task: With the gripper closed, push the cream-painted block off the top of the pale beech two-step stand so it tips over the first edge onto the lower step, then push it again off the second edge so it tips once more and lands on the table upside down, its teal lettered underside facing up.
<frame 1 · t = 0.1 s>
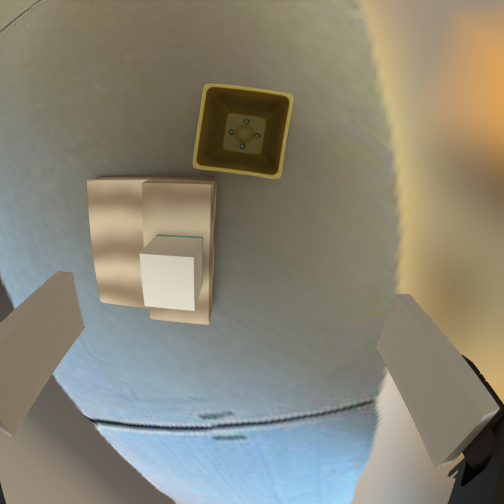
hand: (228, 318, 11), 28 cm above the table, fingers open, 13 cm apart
cream block: (179, 259, 34), point 6 cm above the table, touching beech steps
flower pot: (244, 132, 34), on the table
beech steps: (145, 239, 39), on the table
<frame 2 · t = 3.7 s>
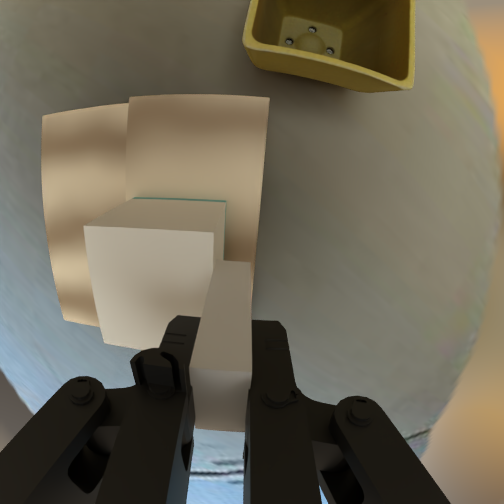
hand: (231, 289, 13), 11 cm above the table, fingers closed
cream block: (178, 247, 17), point 6 cm above the table, touching beech steps, gripper
flower pot: (308, 46, 18), on the table
beech steps: (133, 217, 22), on the table
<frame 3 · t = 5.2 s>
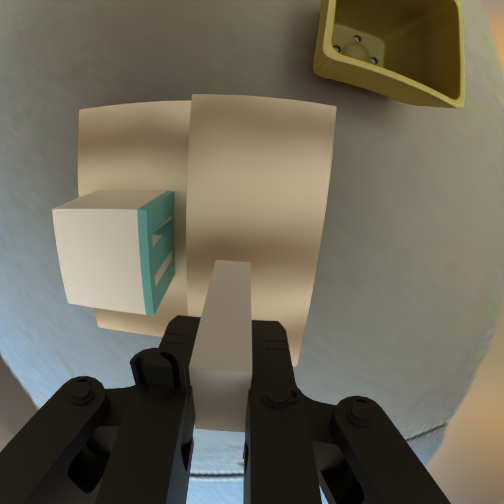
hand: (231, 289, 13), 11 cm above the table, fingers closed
cream block: (163, 248, 17), point 6 cm above the table, tilted 90°, touching beech steps
flower pot: (353, 54, 18), on the table
beech steps: (177, 220, 23), on the table
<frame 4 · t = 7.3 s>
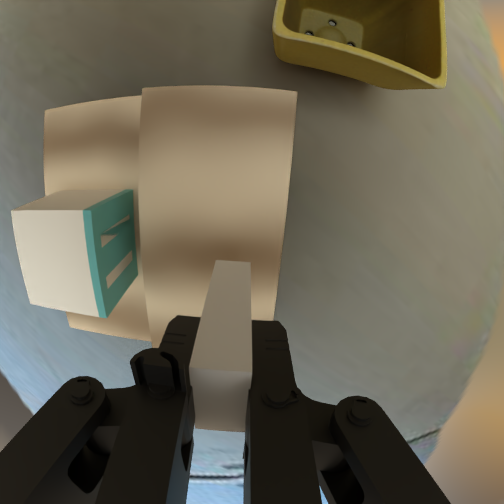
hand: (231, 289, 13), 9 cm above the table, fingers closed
cream block: (118, 249, 16), point 6 cm above the table, tilted 90°, touching beech steps
flower pot: (328, 39, 16), on the table
beech steps: (143, 218, 21), on the table
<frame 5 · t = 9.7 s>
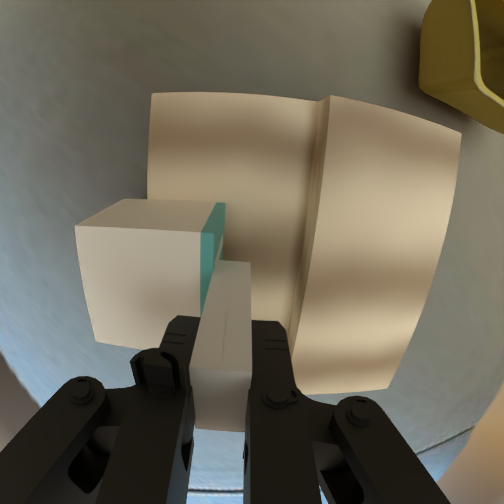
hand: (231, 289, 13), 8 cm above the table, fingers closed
cream block: (218, 274, 14), point 6 cm above the table, tilted 90°, touching gripper
flower pot: (441, 72, 15), on the table
beech steps: (263, 236, 20), on the table
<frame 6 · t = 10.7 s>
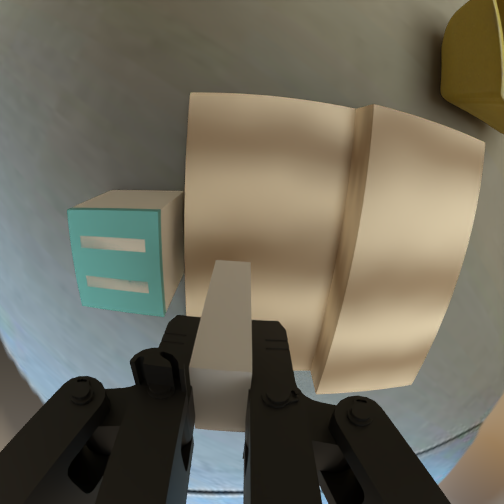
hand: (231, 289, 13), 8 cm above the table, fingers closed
cream block: (113, 264, 14), point 6 cm above the table, tilted 180°
flower pot: (460, 80, 15), on the table
beech steps: (295, 239, 20), on the table
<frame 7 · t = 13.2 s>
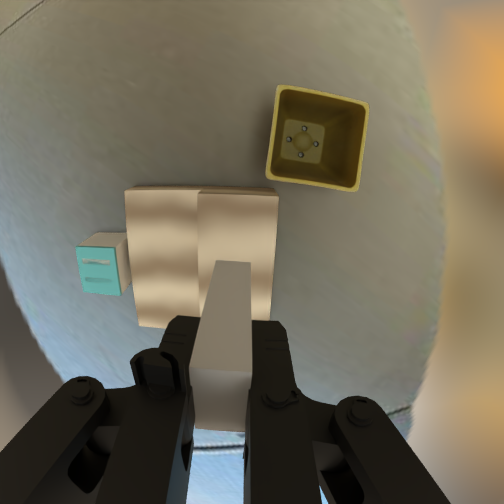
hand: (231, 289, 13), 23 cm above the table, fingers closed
cream block: (97, 271, 31), point 6 cm above the table, tilted 180°
flower pot: (301, 140, 32), on the table
beech steps: (190, 256, 37), on the table
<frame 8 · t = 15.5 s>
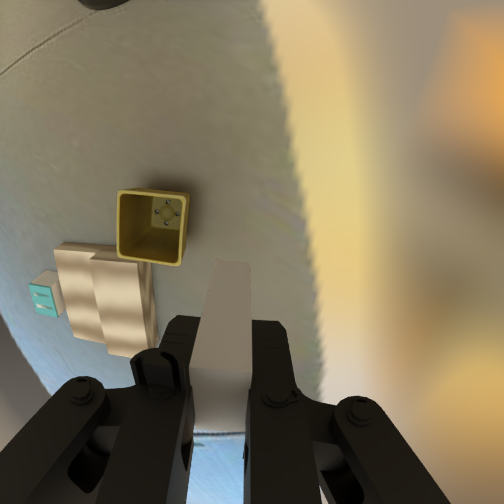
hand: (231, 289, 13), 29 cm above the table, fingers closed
cream block: (42, 301, 40), point 6 cm above the table, tilted 180°
flower pot: (167, 210, 42), on the table
beech steps: (102, 292, 46), on the table
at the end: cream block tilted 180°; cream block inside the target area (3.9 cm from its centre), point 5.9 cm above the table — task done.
